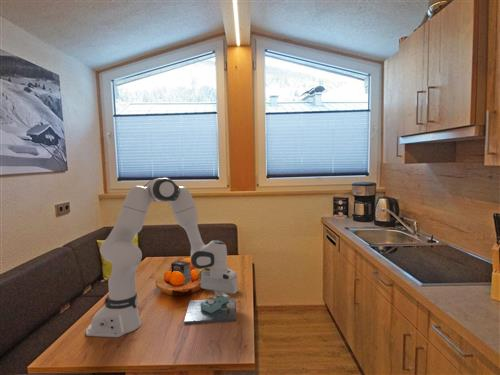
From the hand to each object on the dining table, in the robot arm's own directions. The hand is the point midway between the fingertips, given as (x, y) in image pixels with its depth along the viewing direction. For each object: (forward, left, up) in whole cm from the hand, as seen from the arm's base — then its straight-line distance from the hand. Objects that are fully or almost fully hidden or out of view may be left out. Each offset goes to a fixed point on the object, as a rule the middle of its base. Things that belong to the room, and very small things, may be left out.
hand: (219, 298), depth 165 cm
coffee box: (-22, +20, -3) cm, 30 cm away
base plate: (-4, -8, -3) cm, 9 cm away
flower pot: (-7, +25, -3) cm, 26 cm away
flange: (-1, -5, -1) cm, 6 cm away
